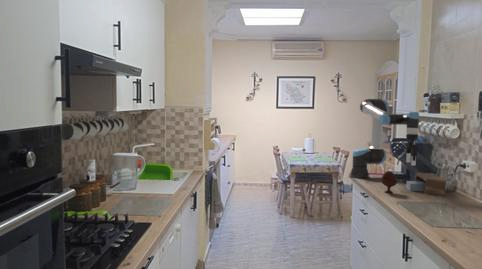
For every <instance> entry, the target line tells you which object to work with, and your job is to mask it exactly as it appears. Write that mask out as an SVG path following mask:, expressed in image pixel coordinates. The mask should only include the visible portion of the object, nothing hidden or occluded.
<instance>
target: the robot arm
mask: <svg viewBox="0 0 482 269" xmlns="http://www.w3.org/2000/svg"><path fill="white" fill-rule="evenodd" d="M359 110H360V111H361V112H362V113H363V114H365V115H369V116H371V118H372V120H371V134H370V135H371V137H370V146H369V147H368V148H356V149H353V151H352V167H351V171H350V173H349V176H350V178H356V179H368V178H370V173H369V168H368V165H382V164H383V163H385V161H386V159H387V153H386V150H384V147H383V146H382V145H383V131H384V130H383V129H384V125H385V126H386V125H387V126H388V125H400V126H402V125H405V126H406V134H405V135H406V136H405V139H406V140H407V143H406V148H405V153H406V158H405V159H406V160H405V162H406V163H410V166H416V163H417V156H418V149H417V141H416V140H419V139H418V138H419V131H420V129H419V123H420V113H419V112H418V111H407V114H406V113H405V114H404V113H401V114H398V113H389V112H390V111H389V110H390V104H389V102H388V101H387V100H386V99H385V98H367V99H364V100H362V101H361V102H360V104H359Z"/></svg>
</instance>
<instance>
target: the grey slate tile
mask: <svg viewBox="0 0 482 269" xmlns="http://www.w3.org/2000/svg"><path fill="white" fill-rule="evenodd" d="M425 184H426V182H419V181H415V180H406V183H405V186H406V189H407V190H408V191H410V192H423V190H425Z"/></svg>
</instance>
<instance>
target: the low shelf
mask: <svg viewBox="0 0 482 269" xmlns="http://www.w3.org/2000/svg"><path fill="white" fill-rule="evenodd" d="M414 181H419V182H426V184H425V190H423V191H422V192H423V193H424V194H425V195H435V196H437V195H439V196H441V195H442V196H446V185H447V184H446V183H447V182H446V181H447V180H446V179H444V178H443V177H441V176H439V175H438V174H435V173H432V172H429V173H428V172H415V180H414Z"/></svg>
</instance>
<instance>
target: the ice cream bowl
mask: <svg viewBox="0 0 482 269" xmlns="http://www.w3.org/2000/svg"><path fill="white" fill-rule="evenodd" d="M380 181H381V183H382V185H383V186H385V187H386V188H387V190H385V191H384V194H388V195H389V194H390V195H392V194H393V193H394V192H393V191H392V190H391V187H395V186H396V185H397V184H398V182H399V180H398V178H396V177H395V176H394V173H393V172H392V171H390V170H386V171H385V172H384V173H383V175H382V176H381V177H380Z"/></svg>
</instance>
